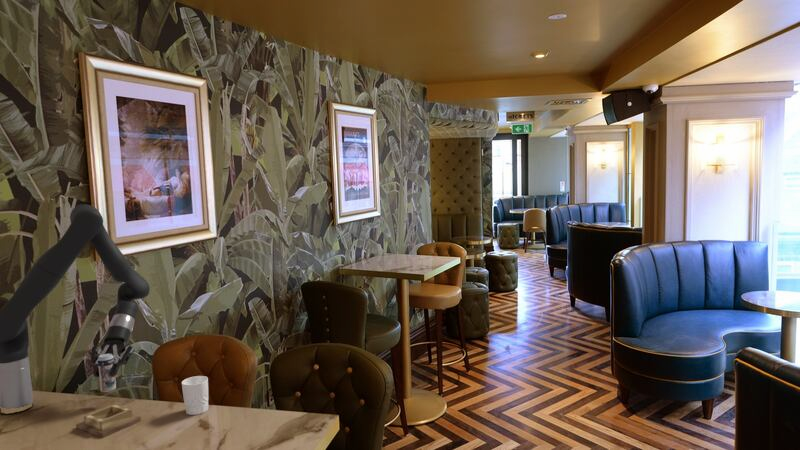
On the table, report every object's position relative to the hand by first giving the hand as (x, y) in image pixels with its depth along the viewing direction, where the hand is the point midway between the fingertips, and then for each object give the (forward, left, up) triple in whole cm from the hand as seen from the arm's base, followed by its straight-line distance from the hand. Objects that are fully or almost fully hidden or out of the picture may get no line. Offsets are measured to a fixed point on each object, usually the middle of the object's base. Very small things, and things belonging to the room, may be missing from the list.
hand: (104, 375), depth 181 cm
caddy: (+13, -7, -11) cm, 19 cm away
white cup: (+30, +12, -11) cm, 34 cm away
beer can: (-1, +2, -6) cm, 6 cm away
